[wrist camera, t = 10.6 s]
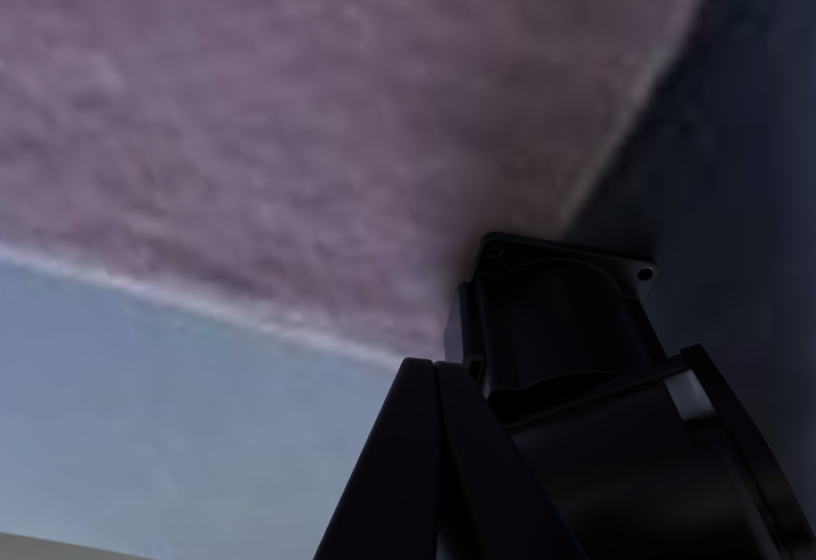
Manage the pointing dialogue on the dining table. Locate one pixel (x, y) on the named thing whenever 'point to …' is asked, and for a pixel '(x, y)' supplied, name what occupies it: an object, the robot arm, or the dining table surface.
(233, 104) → the dining table surface
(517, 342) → the robot arm
